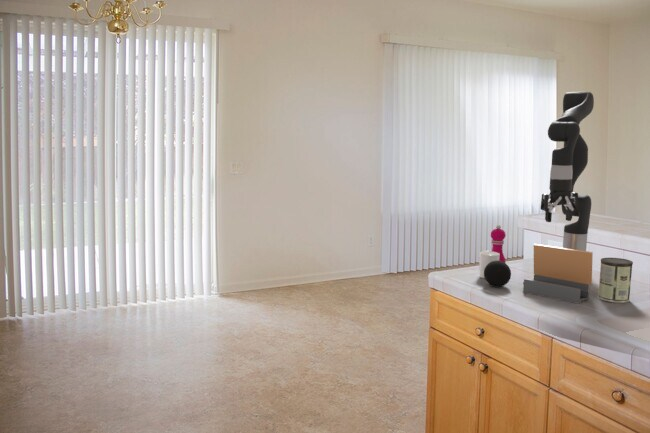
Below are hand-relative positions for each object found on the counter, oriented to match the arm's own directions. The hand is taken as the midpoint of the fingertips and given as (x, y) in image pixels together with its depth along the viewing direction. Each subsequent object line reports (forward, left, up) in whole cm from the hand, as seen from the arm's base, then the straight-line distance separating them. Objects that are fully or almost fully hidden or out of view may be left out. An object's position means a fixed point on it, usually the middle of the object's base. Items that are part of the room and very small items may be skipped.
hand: (558, 221), depth 219 cm
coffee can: (-4, +20, -27) cm, 33 cm away
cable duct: (+6, +3, -26) cm, 27 cm away
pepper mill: (-12, -29, -27) cm, 41 cm away
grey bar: (+6, +2, -25) cm, 26 cm away
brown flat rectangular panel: (+2, +3, -15) cm, 16 cm away
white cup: (-1, -27, -27) cm, 38 cm away
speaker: (+10, -18, -27) cm, 34 cm away
